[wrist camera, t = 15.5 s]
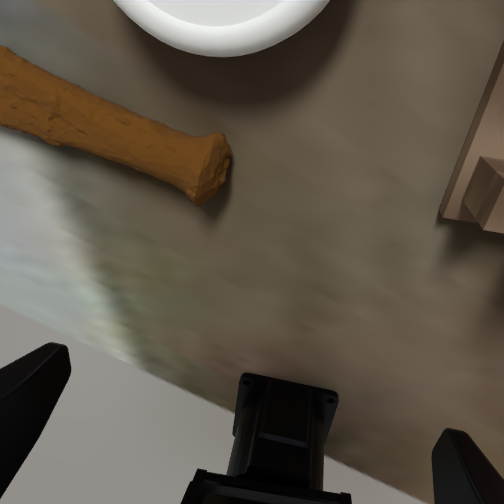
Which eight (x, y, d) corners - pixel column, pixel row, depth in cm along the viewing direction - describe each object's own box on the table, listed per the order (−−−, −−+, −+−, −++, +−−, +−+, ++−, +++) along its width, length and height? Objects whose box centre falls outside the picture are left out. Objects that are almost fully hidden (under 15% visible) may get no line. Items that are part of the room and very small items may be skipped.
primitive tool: (-120, 88, 22) (-192, 99, 19) (-146, -34, 19) (-236, -43, 16) (225, 196, 21) (208, 225, 18) (251, 89, 19) (236, 103, 16)
